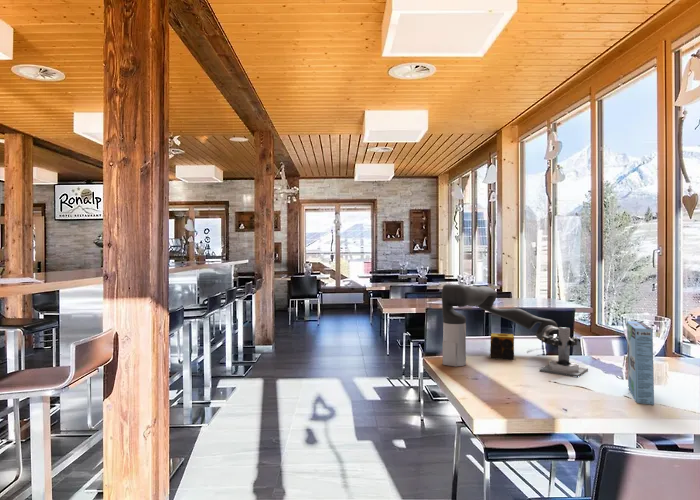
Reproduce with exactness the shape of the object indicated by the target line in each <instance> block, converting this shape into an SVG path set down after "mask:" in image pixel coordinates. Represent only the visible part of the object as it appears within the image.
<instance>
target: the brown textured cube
mask: <svg viewBox="0 0 700 500" xmlns="http://www.w3.org/2000/svg"><path fill="white" fill-rule="evenodd" d="M489 349H490V350H489V353H490V354H489V358H490V359H495V360H511V361H514V360H515V335H514V333H513V334H512V333H500V332H499V333H498V332H497V333H496V332H494V333H493V332H491V333H490V348H489Z"/></svg>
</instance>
